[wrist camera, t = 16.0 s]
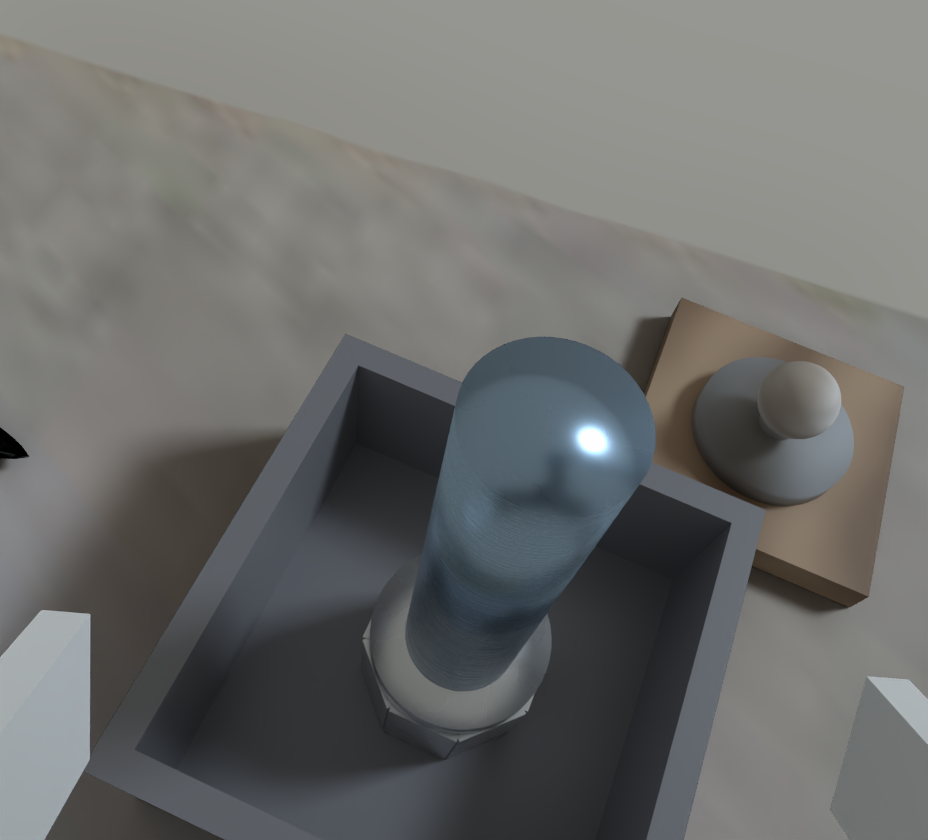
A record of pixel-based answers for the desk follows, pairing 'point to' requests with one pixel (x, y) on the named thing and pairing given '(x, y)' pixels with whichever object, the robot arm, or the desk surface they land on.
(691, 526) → the bin
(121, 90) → the desk surface
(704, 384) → the stud base
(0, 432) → the pen
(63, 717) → the robot arm
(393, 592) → the strut
